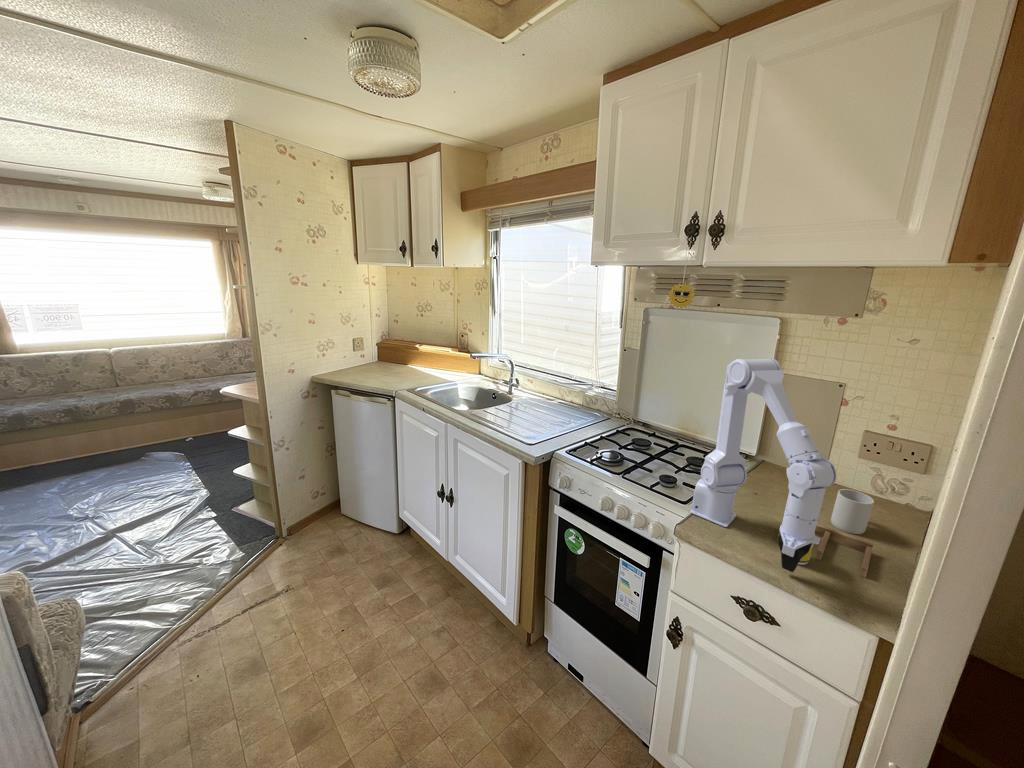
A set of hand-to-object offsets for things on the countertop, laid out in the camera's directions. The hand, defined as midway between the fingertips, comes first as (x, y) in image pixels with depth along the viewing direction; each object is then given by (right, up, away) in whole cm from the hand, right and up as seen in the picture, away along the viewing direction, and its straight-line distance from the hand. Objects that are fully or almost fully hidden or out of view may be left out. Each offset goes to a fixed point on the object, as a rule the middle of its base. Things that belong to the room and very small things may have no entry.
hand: (788, 568), depth 91 cm
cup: (+29, +3, +20) cm, 35 cm away
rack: (+15, +1, +10) cm, 18 cm away
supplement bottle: (+5, 0, +6) cm, 8 cm away
